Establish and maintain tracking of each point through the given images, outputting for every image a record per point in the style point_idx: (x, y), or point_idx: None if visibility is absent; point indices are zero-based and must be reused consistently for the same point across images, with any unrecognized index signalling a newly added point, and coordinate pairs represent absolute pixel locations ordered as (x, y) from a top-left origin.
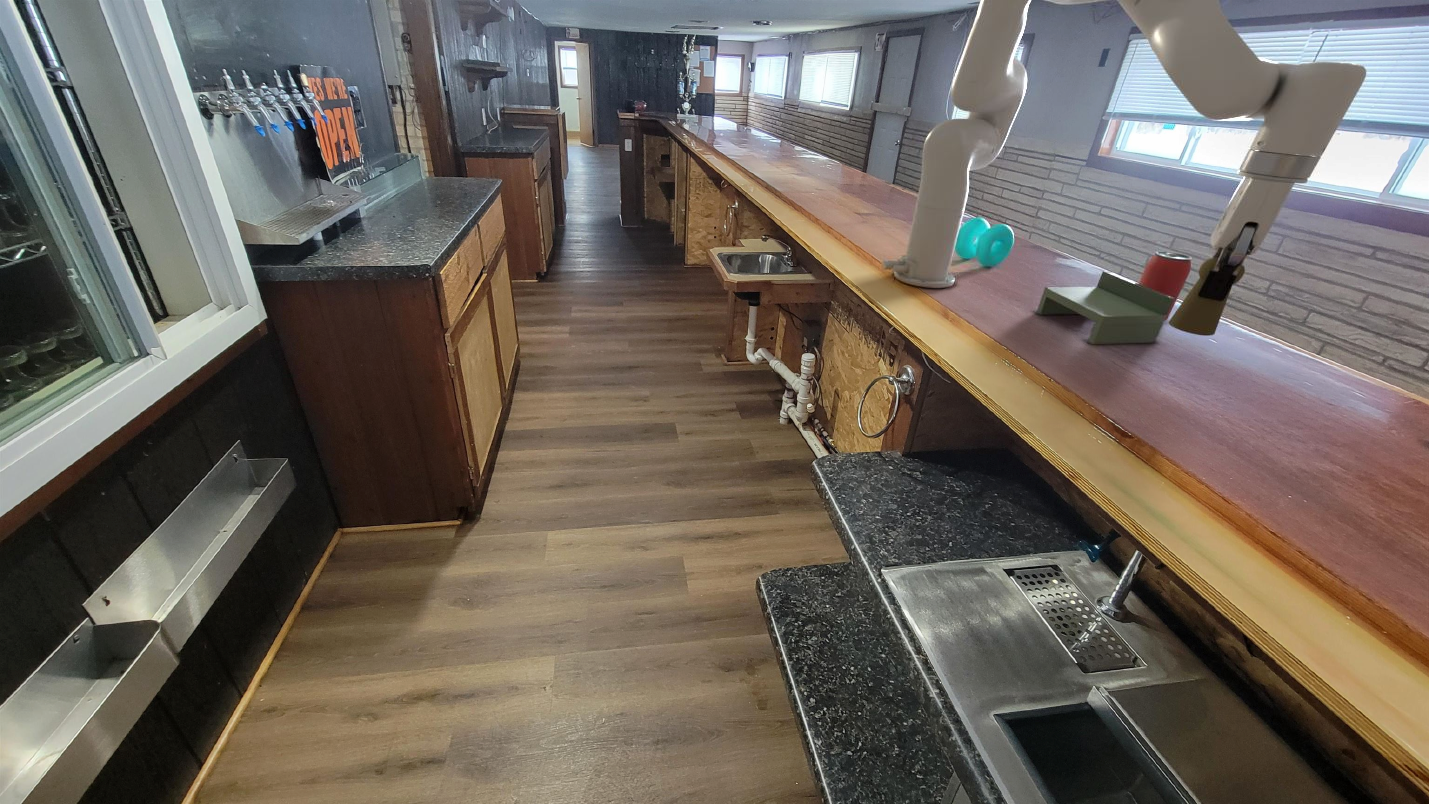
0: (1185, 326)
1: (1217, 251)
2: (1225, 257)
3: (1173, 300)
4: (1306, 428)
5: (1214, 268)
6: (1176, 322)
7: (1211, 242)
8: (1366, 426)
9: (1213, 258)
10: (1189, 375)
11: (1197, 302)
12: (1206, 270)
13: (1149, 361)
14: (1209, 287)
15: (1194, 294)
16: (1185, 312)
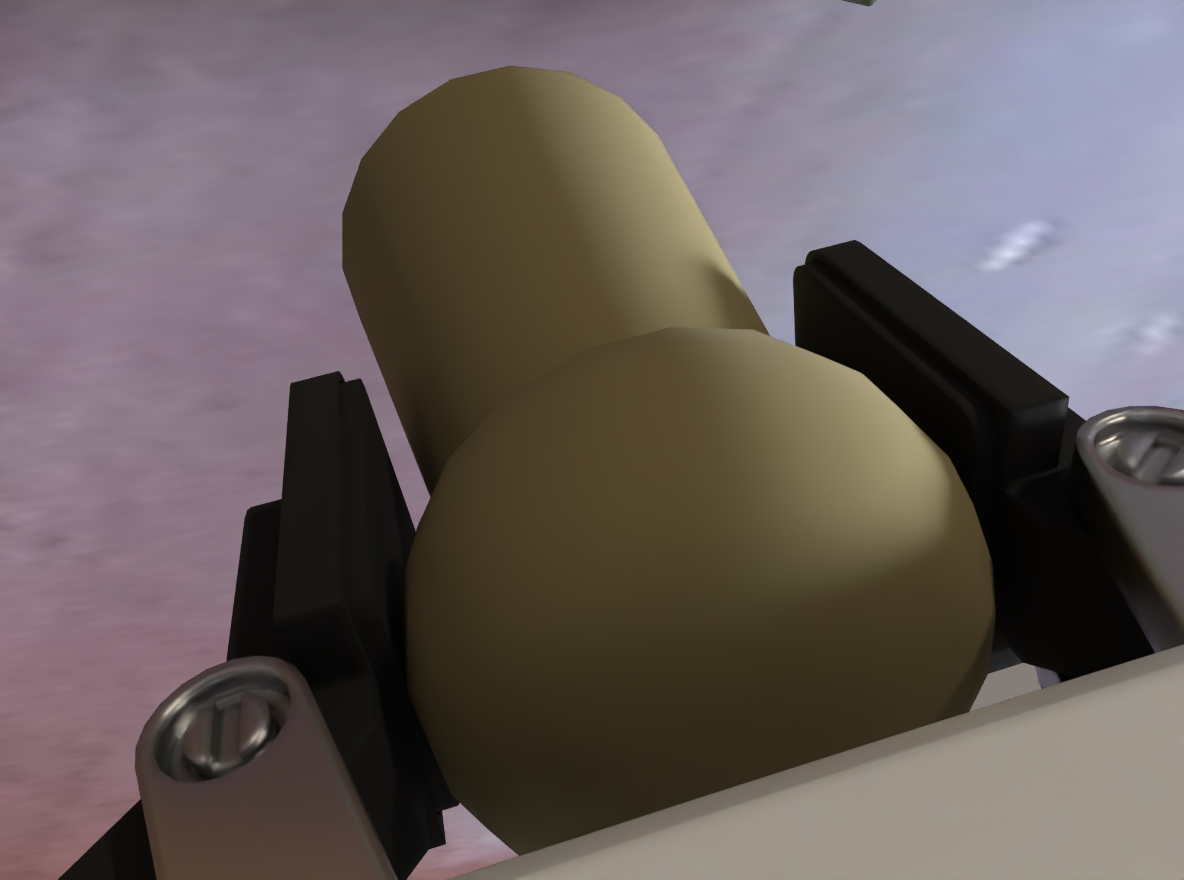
0: (350, 245)
1: (1154, 589)
2: (1111, 627)
3: (856, 2)
4: (38, 787)
5: (260, 699)
6: (385, 159)
7: (769, 833)
8: None
9: (745, 603)
10: (192, 318)
11: (394, 343)
12: (459, 506)
13: (187, 52)
14: (248, 539)
15: (443, 306)
16: (387, 230)
